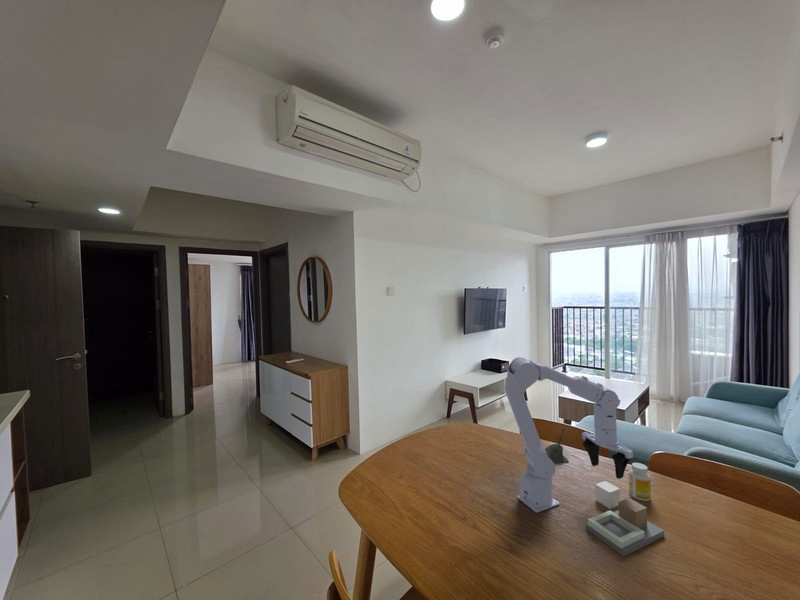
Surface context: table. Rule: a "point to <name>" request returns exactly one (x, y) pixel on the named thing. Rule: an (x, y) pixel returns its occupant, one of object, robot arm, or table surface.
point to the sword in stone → (556, 452)
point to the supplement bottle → (639, 482)
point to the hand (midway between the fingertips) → (607, 471)
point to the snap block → (607, 494)
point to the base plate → (625, 527)
